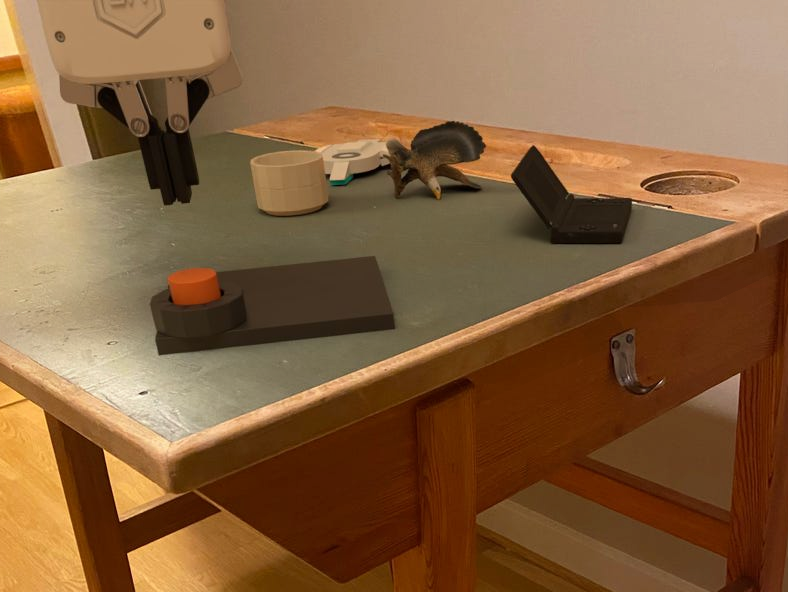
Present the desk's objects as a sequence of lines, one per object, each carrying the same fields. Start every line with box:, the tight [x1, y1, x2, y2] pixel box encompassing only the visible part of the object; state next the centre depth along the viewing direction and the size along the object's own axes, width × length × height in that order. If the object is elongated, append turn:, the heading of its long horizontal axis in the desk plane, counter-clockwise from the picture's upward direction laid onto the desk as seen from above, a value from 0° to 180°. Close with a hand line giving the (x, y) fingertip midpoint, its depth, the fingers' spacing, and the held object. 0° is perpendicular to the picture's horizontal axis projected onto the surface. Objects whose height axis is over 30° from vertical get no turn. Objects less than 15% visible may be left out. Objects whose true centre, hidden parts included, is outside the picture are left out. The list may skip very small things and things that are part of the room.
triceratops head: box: [383, 120, 487, 201], centre depth 99 cm, size 8×7×9 cm
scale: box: [149, 255, 396, 356], centre depth 74 cm, size 16×15×3 cm
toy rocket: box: [315, 138, 391, 186], centre depth 111 cm, size 16×10×2 cm, turn 172°
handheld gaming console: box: [510, 144, 633, 245], centre depth 87 cm, size 12×7×10 cm
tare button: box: [167, 267, 221, 305], centre depth 68 cm, size 3×3×2 cm
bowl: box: [249, 149, 329, 217], centre depth 97 cm, size 7×7×4 cm
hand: (178, 198), depth 65 cm, fingers closed
